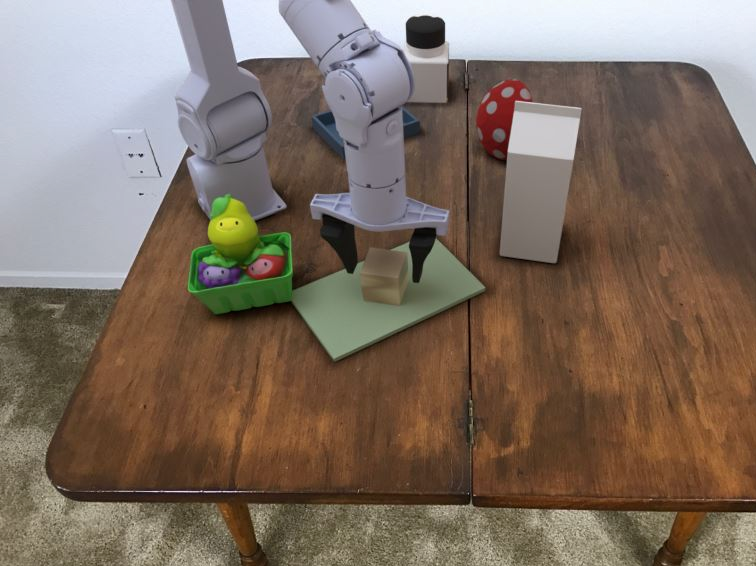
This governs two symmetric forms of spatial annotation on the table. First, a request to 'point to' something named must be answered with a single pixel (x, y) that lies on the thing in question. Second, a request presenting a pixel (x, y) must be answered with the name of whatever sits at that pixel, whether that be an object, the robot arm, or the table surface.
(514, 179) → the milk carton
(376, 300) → the block
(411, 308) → the mat
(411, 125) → the tray
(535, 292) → the table surface
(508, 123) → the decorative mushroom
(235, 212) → the fruit basket
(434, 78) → the medicine bottle
